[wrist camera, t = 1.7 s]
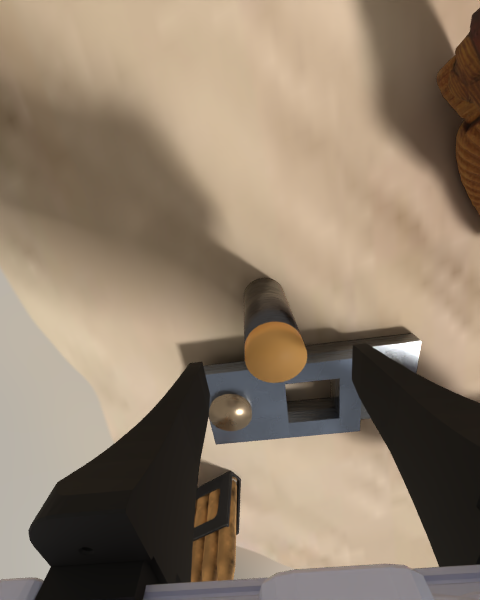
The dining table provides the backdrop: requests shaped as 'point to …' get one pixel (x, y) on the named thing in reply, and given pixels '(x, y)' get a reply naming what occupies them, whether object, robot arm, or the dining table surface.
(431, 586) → the robot arm
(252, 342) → the pin
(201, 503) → the ammunition clip
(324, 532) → the dining table surface
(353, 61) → the dining table surface
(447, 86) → the wooden carving
